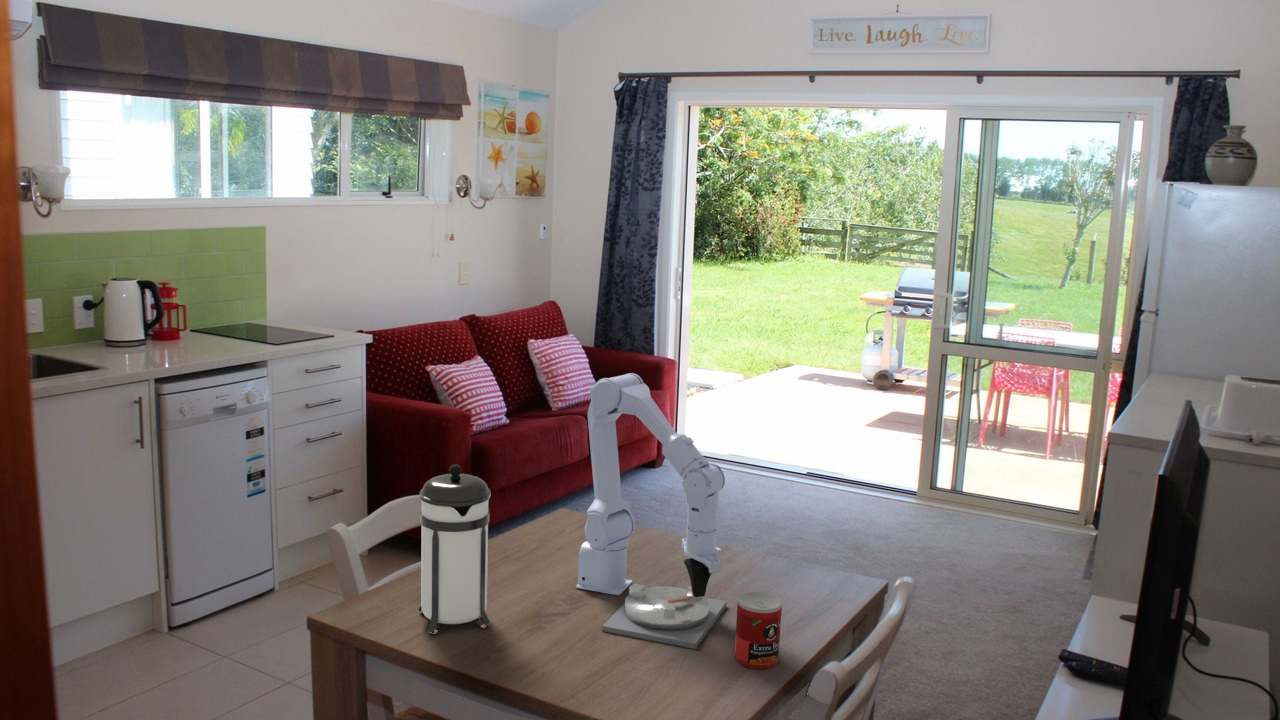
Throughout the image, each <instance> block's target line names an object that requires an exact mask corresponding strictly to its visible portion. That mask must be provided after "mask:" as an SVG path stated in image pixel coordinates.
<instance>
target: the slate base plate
mask: <svg viewBox="0 0 1280 720" xmlns="http://www.w3.org/2000/svg"><path fill="white" fill-rule="evenodd" d="M645 588H647V586H645ZM705 598H706V599H707V601H708V602H709V616H708V619H707V620H706V621H705V622H704V623H702V624H701V625H699V626H696V627H693V628H688V629H682V630H661V629H654V628H649V627H645V626H642V625H639V624H637V623H635V622H633V621H631V620H630V619H629V618H628V617H627V616H626V614H625V602H624V603H623V604H621V606H620V607H619V608H618V609H617V610H616V611H615V612H614V614H612V615H611V616H610V617H609V619H607V620H606V622H604V624H603V625H602V627H601V631H602V632H606V633H611V634H616V635H620V636H621V635H622V636H626V637H632V638H636V639H641V640H646V641H652V642H658V643H663V644H667V645H673V646H679V647H683V648H688V649H694V650H696V649H697V648H698V647H699V645H700V643H701V642H702V641H703V640H704V638H705V636H706V635H707V634H708V633H709V631H710V630H711V629H712V627H713V626H714V624H715V623H716V622H717V619H718V618H719V617H720V616H721V615H722V613H723V611H725V609H726V607H727V601H725V600H721V599H720V600H719V599H715V598H707V597H705Z"/></svg>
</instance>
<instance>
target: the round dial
mask: <svg viewBox="0 0 1280 720" xmlns="http://www.w3.org/2000/svg"><path fill="white" fill-rule="evenodd" d="M645 587H646V588H645ZM628 590H629V592H628V595H627V596H626V597H625V599H624V600H625V601H624V603H625V614H626V616H627V617H628V618H629V619H630V620H631V621H633V622H635V623H637V624H639V625H642V626H645V627H649V628H654V629H661V630H682V629H688V628H693V627H696V626H699V625H701V624H702V623H704V622H705V621H706V620H707V619H708V616H709V602H708V601H707V599H706V598H707V597H705V596H703V597H694V596H693V594H692V588H691V585H689V586H687V589H686V588H683V587H675V586H661V585H660V586H649V587H647V586H646V585H644V584H640V583H632V584H630V585H629V589H628Z"/></svg>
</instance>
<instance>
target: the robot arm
mask: <svg viewBox="0 0 1280 720" xmlns="http://www.w3.org/2000/svg"><path fill="white" fill-rule="evenodd" d="M589 391H590V403H589V406H588V410H587V423H588V425H587V426H588V435H589V437H588V438H589V449H590V460H591V470H592V471H591V472H592V482H593V483H592V484H593V491H594V492H593V494H594V495H593V496H594V500H593V501H592V503H591V505H590V506H589V507H588V509H587V511H586V523H585V525H584V536H585V539H586V541H583V543H582V545H581V546H580V549H579V552H578V563H577V564H578V566H577V584H576V585H575V586H576V588H577V589H581V590H585V591H586V590H587V591H593V592H596V593H597V592H599V593H602V594H609V595H613V596H620V595H621V594H622V593H623V592H624V591H625V590H626V589H627V588H628V587H630V586H631V585H632V584H633V580H632V579H629V578H628V579H627V578H626V576H627V555H628V554H627V551H628V544H629V543H630V542H629V541H630V539H629V538H630V537H631V536H632V535H633V534H634V532H635V530H636V522H635V519H634V516H633V514H632V512H631V507H630V503H629V502H628V500H626V499H625V498H624V497H623V495H622V484H621V473H620V463H619V462H620V461H619V449H618V448H619V447H618V437H617V435H618V434H617V426H616V425H617V424H616V421H617V420H618V419H619V417H620V416H621V415H622V414H625V415H626V414H627V415H632V416H636V417H637V418H638V419H639V420H640V421H641V423H642V424H643V425H644V426H645V427H646V428H647V429H648V430H649V431H650V432H651V433H652V435H653V436H654V437H656V438H657V440H658V441H659V442H660V443H661V444H662V451H661V453H662V455H663V456H664V458H665V459H666V460H667V461H668V462H669V464H670V465H671V466H672V468H673V469H674V470H675V471H676V472H677V474H678V475H679V476H680V477H681V479H682V480H683V481H682V484H681V485H682V489H683V492H685V495H686V498H687V499H686V503H687V512H686V513H687V515H686V516H687V517H686V518H687V519H686V520H687V521H686V536H685V537H684V538H681V549H683V550H684V551H683V552H684V556H686V557H689V558H686V559H684V560H683V563H684V565H685V568H686V570H687V573H688V575H689V576H688V577H689V580H690V586H691V588H692V594H693V596H694V597H705V596H706V592H707V586H708V583H709V580H710V578H711V576H712V574H718V573H721V569H722V568H721V567H722V566H721V565H722V563H721V561H720V560H719V556H718V554H722V549H721V548H720V547H718V546H717V534H718V533H717V529H718V515H719V514H718V513H719V512H718V511H719V510H718V509H719V495H720V494H719V492H721V491H722V490H723V489H724V486H725V483H726V478H725V473H724V472H723V470H722V469H721V466H720V465H719V464H717V463H714V462H710V461H709V460H708V459H707V458H706V457H704V456H703V455H702V453H701V452H700V451H699V450H698V448H697V447H696V446H695V444H694V440H693V439H692V438H691V437H690V436H689V437H688V436H687V435H686V434H683V433H682V434H681V433H678V432H676V430H675V429H674V428H673V426H672V424H670V422H669V420H668V419H667V418H666V416H665V414H664V413H663V411H662V410H661V409H660V408H659V407H658V405H657V403H656V402H655V400H654V399H653V398H652V395H651V390H650V388H649V386H648V385H647V384H646V383H644V380H643V378H641V376H639V374H636V373H634V372H632V373H631V372H629V373H625V374H622V375H617V376H612V377H609V378H608V377H603V378H600V379H599V380H598V381H596V383H595V384H593V386H592V387H591V388H590V389H589Z"/></svg>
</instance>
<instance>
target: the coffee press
mask: <svg viewBox="0 0 1280 720" xmlns="http://www.w3.org/2000/svg"><path fill="white" fill-rule="evenodd" d="M448 471H449V473H446V474H441V475H437V476H434V477H432V478H430V479H429V480H427V481H426V482H424V484H423V487H422V489H420V490H419V500H420V501H421V510H420V519H419V520H420V521H419V522H420V523H419V524H421V544H420V545H421V546H420V547H421V559H420V560H421V565H420V567H421V573H420V579H421V585H420V589H421V591H420V592H421V593H420V598H421V600H420V602H421V604H420V606H419V608H418V612H419V611H422V612H423V614H424V617H426V618H427V619H429V625H428V627H427V632H428V631H429V632H432V633H434V630H435V629H436V630H439V631H440V628H441V627H442V626H443V625H444V624H445V625H458V624H459V625H460V624H464V623H465V624H466V623H469V622H475V623H476V624H477V625H478V626H479V627H480V626H481V625H483V624H485V625H486V627H485V629H486V628H488V627H489V626H490V625H491V621H490V619H489V617H488V616H487V613H486V610H487V605H488V603H487V601H488V596H487V595H488V554H489V553H488V552H489V551H488V548H489V547H488V545H489V539H488V538H489V523H490V509H489V500H490V498H491V494H492V493H491V489H490V488H489V487H488V484H487V483H486V482H485V481H484V480H483V479H482V478H480V477H479V476H475V475H472V474H466V473H462V471H463V469H462V466H460V465H459V464H457V463H456V464H455V463H454V464H452V465H451V466H450V467H449V469H448ZM480 617H481V618H480ZM482 620H483V621H482ZM487 626H488V627H487Z"/></svg>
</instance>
